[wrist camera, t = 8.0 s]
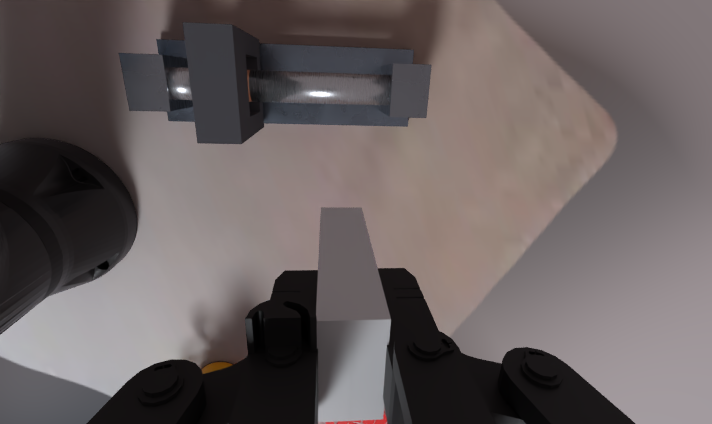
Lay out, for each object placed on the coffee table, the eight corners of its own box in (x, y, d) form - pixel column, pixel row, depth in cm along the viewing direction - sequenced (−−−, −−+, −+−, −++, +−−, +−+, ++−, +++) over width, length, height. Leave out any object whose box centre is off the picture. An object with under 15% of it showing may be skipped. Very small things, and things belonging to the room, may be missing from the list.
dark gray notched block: (231, 126, 34) (197, 143, 25) (223, 38, 31) (182, 22, 22) (264, 126, 34) (241, 144, 25) (259, 39, 31) (232, 24, 22)
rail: (172, 120, 34) (133, 130, 28) (160, 40, 32) (114, 29, 25) (406, 125, 36) (424, 136, 29) (411, 50, 34) (433, 43, 27)
